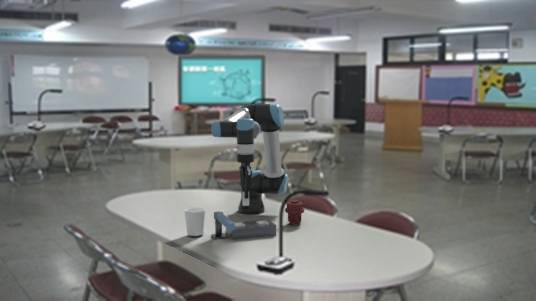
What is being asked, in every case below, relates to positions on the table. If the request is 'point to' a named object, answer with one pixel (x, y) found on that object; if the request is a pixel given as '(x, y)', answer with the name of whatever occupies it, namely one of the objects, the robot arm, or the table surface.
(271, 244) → the table surface
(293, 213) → the mechanical component
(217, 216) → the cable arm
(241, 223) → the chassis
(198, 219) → the cup
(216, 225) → the pivot post
